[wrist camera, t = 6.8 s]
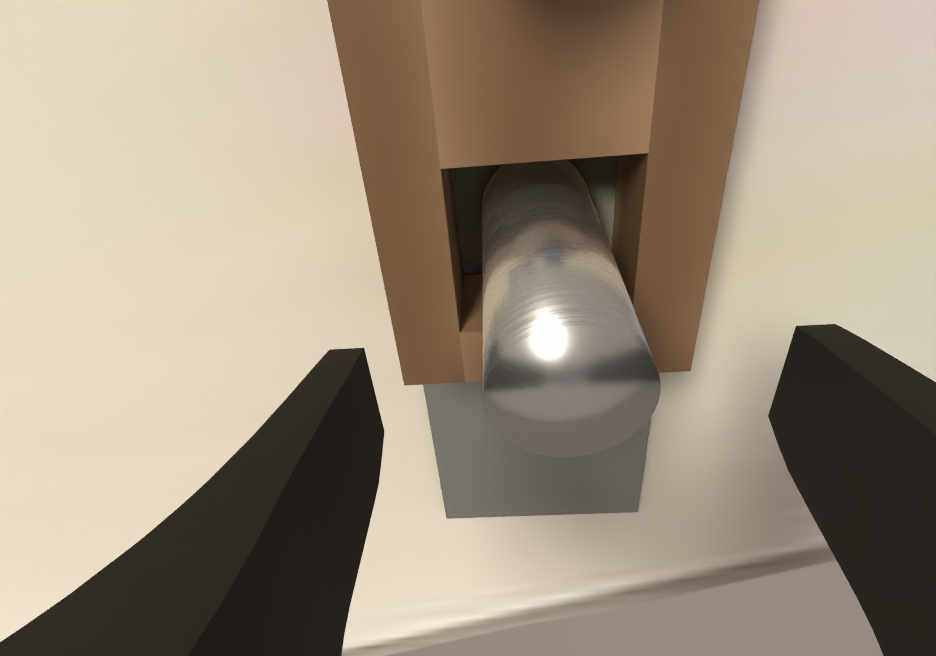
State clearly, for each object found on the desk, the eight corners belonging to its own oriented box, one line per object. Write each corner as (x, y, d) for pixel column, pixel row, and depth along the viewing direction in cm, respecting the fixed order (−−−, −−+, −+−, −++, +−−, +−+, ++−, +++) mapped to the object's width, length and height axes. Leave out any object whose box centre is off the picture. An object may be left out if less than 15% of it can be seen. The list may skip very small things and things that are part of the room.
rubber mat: (656, 358, 19) (658, 364, 19) (635, 505, 24) (637, 511, 24) (422, 370, 20) (421, 376, 20) (447, 512, 25) (446, 518, 24)
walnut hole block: (780, -539, 9) (891, -708, 6) (662, 309, 18) (690, 370, 16) (279, -462, 9) (208, -591, 7) (414, 324, 19) (404, 385, 16)
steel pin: (590, 148, 15) (670, 321, 9) (586, 247, 17) (651, 453, 11) (478, 156, 15) (476, 332, 9) (485, 254, 17) (488, 460, 11)
